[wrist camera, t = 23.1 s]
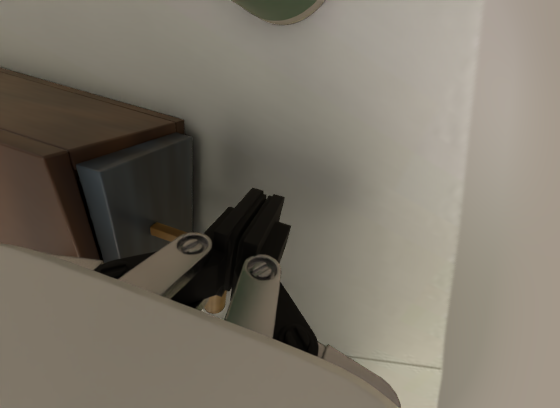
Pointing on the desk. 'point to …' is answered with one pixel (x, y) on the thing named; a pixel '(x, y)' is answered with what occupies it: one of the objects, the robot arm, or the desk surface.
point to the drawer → (140, 199)
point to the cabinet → (59, 158)
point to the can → (280, 9)
